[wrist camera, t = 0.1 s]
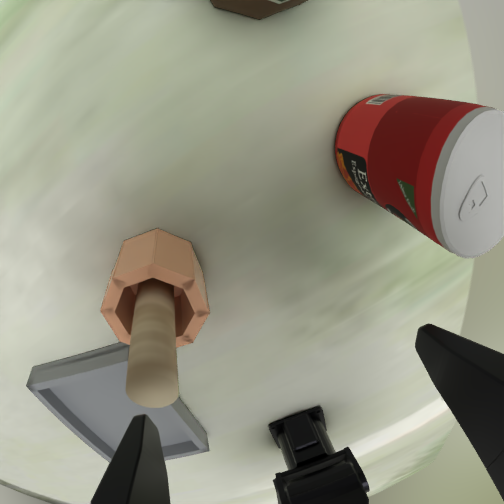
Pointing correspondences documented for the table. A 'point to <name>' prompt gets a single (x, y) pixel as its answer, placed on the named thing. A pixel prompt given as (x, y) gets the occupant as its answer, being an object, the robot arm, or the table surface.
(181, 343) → the cup
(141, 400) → the dowel pin
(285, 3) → the beer bottle
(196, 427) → the tray
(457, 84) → the table surface
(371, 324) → the table surface
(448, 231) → the canned food
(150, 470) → the robot arm
